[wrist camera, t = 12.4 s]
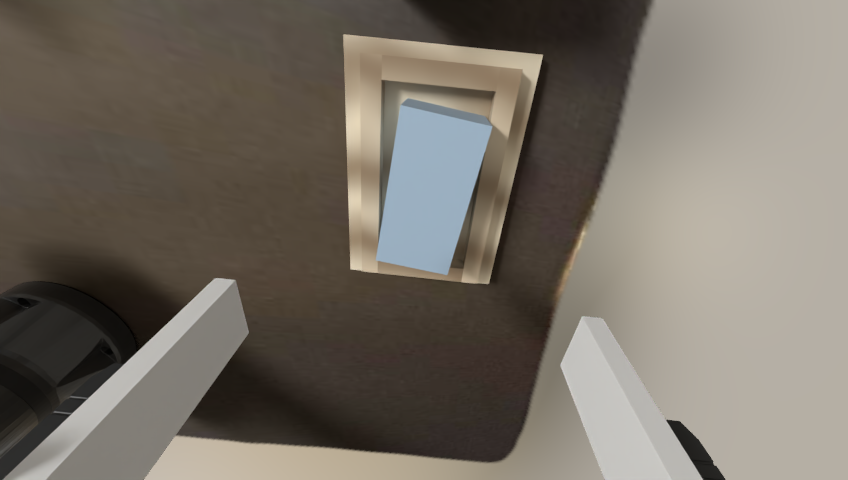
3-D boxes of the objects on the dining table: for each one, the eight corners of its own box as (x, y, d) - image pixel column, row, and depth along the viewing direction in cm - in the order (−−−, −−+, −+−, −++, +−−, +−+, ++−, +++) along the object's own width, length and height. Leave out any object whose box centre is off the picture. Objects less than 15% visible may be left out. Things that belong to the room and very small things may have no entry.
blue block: (407, 98, 24) (400, 105, 20) (484, 116, 24) (492, 126, 20) (384, 234, 30) (375, 260, 26) (447, 247, 30) (447, 275, 26)
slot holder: (487, 277, 33) (490, 293, 31) (353, 262, 33) (346, 278, 31) (538, 55, 23) (549, 54, 21) (347, 35, 23) (337, 32, 21)
